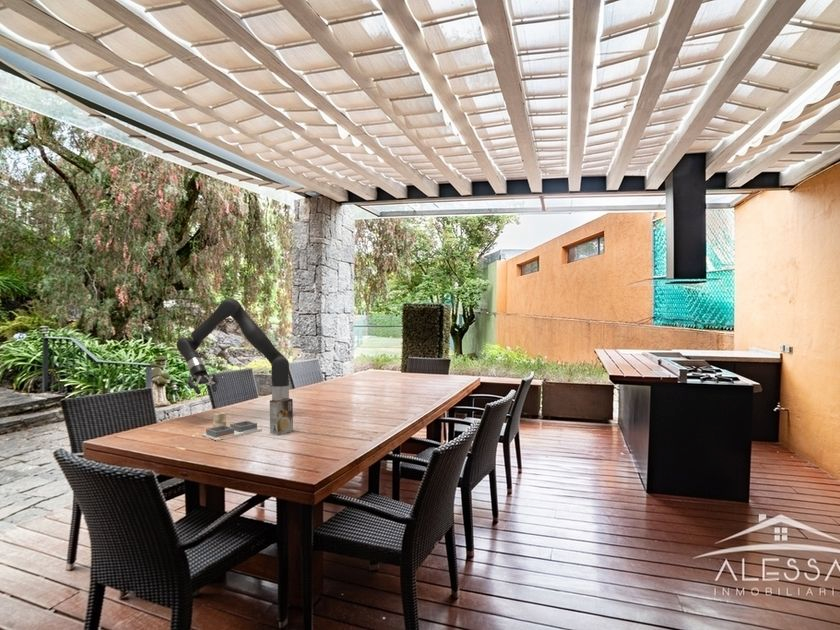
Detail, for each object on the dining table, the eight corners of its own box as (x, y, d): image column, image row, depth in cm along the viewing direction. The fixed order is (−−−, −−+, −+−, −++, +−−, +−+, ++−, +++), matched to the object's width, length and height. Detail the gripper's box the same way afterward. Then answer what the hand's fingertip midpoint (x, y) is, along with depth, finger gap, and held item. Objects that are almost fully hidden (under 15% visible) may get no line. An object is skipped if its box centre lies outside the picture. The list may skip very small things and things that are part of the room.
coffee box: (285, 429, 226) (285, 397, 226) (293, 431, 222) (293, 398, 222) (269, 433, 218) (269, 400, 218) (277, 435, 215) (277, 401, 214)
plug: (221, 427, 229) (221, 412, 229) (226, 429, 226) (226, 413, 226) (213, 429, 225) (213, 413, 225) (217, 431, 223) (217, 414, 222)
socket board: (246, 426, 232) (246, 419, 232) (261, 430, 223) (261, 423, 223) (201, 436, 214) (201, 428, 214) (216, 441, 205) (216, 433, 205)
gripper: (185, 364, 233) (195, 389, 226) (212, 362, 244) (223, 386, 237) (180, 374, 236) (190, 398, 229) (207, 371, 248) (218, 394, 240)
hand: (207, 392), depth 233 cm, fingers open, 8 cm apart
